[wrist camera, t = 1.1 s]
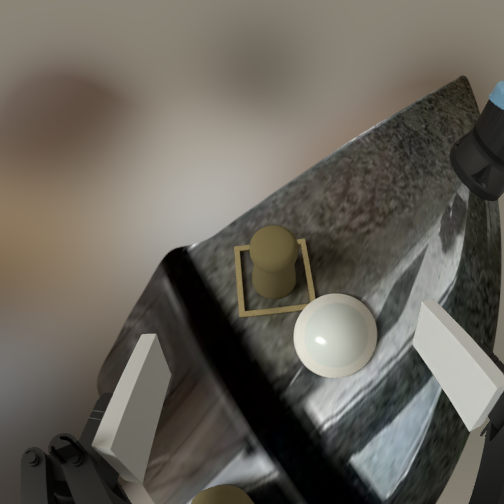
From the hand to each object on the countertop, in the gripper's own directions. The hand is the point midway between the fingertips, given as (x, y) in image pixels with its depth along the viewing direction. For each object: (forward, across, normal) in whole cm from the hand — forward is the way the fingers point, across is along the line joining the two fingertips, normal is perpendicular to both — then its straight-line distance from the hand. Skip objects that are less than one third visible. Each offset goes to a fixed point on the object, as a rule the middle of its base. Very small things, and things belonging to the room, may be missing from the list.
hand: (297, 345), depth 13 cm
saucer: (+18, +7, -15) cm, 24 cm away
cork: (+25, 0, -8) cm, 26 cm away
